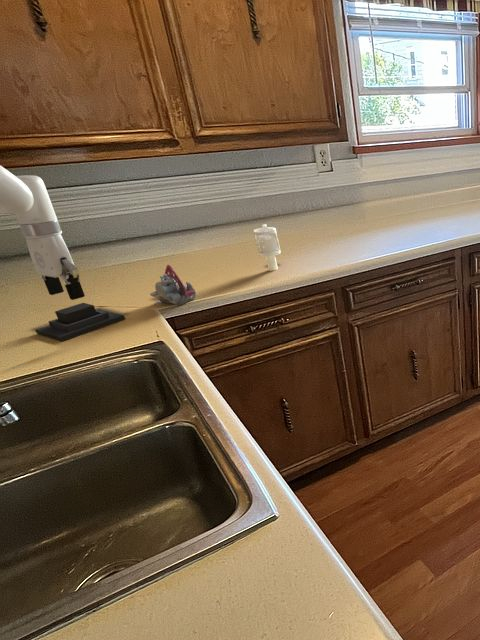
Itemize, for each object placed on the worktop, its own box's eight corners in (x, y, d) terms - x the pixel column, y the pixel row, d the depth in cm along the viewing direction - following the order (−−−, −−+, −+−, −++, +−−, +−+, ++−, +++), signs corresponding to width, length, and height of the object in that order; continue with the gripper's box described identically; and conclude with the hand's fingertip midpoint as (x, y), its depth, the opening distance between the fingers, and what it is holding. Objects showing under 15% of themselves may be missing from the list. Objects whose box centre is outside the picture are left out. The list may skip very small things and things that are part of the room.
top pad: (71, 328, 134) (65, 314, 132) (60, 325, 136) (54, 311, 134) (99, 319, 139) (93, 305, 138) (88, 316, 142) (83, 302, 140)
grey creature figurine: (209, 289, 155) (176, 264, 145) (187, 319, 152) (152, 296, 142) (188, 283, 161) (154, 259, 151) (166, 313, 157) (131, 290, 147)
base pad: (62, 341, 130) (57, 331, 128) (36, 333, 135) (32, 324, 133) (125, 319, 142) (122, 309, 141) (100, 312, 147) (96, 303, 146)
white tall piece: (284, 265, 184) (275, 223, 177) (283, 270, 178) (274, 227, 171) (263, 267, 182) (253, 225, 175) (262, 273, 176) (252, 229, 169)
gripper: (5, 229, 127) (33, 295, 135) (42, 234, 120) (70, 304, 127) (40, 223, 133) (64, 287, 141) (77, 228, 126) (101, 295, 133)
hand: (67, 295), depth 134 cm, fingers open, 9 cm apart
